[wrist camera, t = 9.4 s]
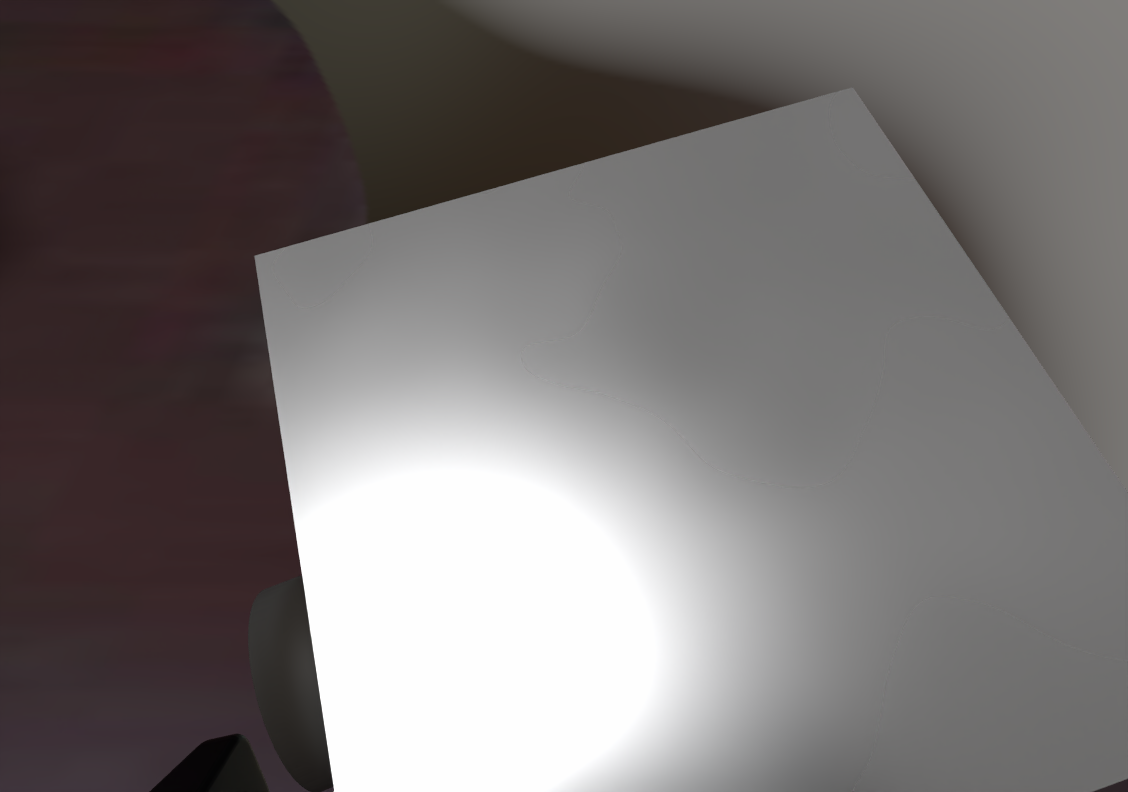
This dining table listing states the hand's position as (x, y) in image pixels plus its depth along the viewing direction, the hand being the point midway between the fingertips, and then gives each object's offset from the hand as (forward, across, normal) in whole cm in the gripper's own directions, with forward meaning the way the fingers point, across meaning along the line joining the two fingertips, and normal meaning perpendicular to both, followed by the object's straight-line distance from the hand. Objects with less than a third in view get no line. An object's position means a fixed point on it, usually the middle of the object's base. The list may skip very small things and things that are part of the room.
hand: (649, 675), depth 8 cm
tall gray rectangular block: (+7, 0, +5) cm, 9 cm away
